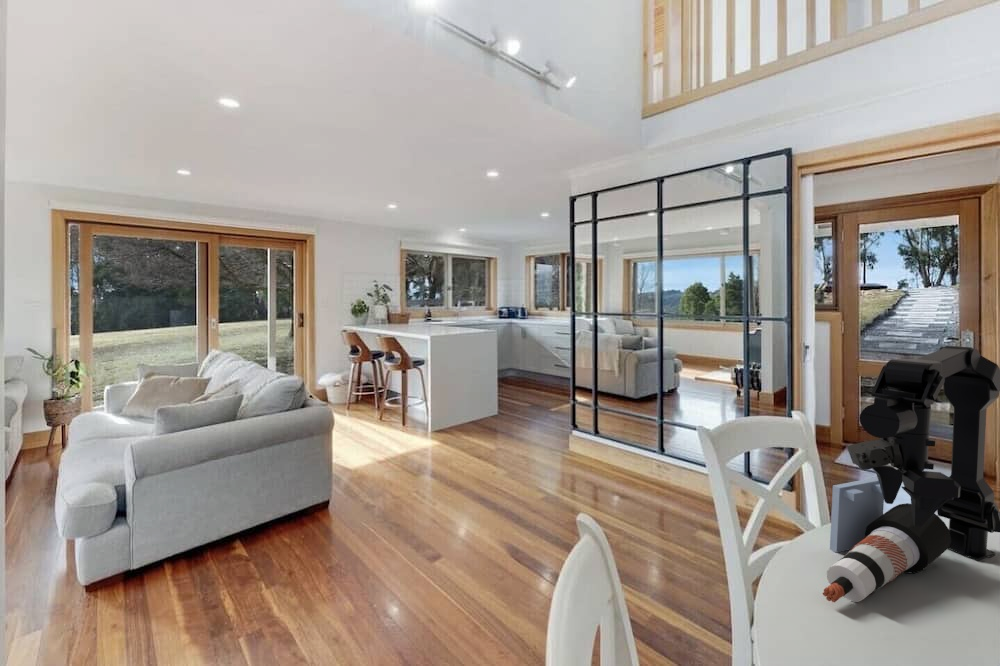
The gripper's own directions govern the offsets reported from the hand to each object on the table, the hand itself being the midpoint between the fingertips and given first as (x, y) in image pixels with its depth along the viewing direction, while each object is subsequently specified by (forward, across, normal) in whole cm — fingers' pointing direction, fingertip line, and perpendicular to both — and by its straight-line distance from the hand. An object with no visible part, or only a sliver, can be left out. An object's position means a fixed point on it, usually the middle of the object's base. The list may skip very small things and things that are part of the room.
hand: (902, 514), depth 83 cm
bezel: (+14, -14, 0) cm, 20 cm away
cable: (+14, -2, -2) cm, 15 cm away
